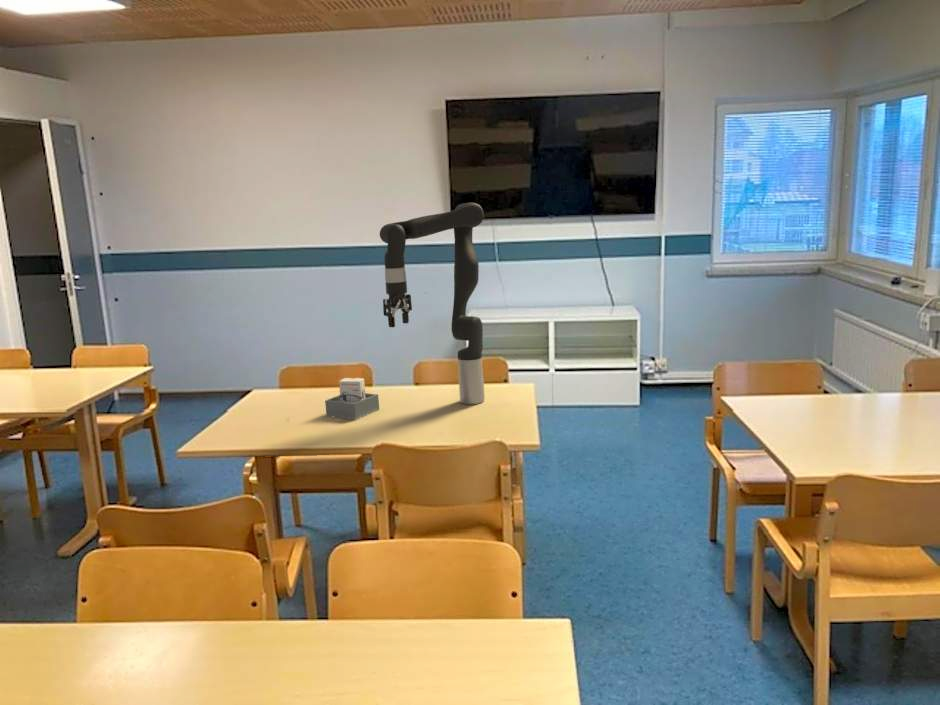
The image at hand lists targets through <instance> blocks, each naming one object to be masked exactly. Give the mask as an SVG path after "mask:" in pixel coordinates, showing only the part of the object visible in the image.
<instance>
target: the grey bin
mask: <svg viewBox="0 0 940 705" xmlns="http://www.w3.org/2000/svg"><path fill="white" fill-rule="evenodd" d="M365 397H366V399H363V400H361V401H359V402H356V403H348V402H341V400H340V394H339V395H337V396H333V397H332V398H328V399H325V400H324V401H325V402H324V403H325V415H326V417H329V416H334V417H333V418H337V417H341V418H340V419H344V418H349V419H348V420H352V419H357V420H360V419H361V418H360V417H362V418H364V417H366V416H368V415H367V414H369V415H371V414H373V413H375V412H377V410H378V411H379V410H380V400H379V394H378V393H369V392H368V393H367V392H365ZM374 411H375V412H374ZM372 412H373V413H372ZM370 413H371V414H370ZM365 415H366V416H365ZM363 416H364V417H363ZM359 418H360V419H359Z"/></svg>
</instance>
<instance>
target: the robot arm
mask: <svg viewBox="0 0 940 705" xmlns="http://www.w3.org/2000/svg"><path fill="white" fill-rule="evenodd" d="M484 212H485V211H484V209H483V208H482V206H481V205H480V204H478V203H476V202H465V203H459V204H457V206H456V207H455V208H454V210H450V211H447V212H441V213H436V214H429V215H424V216H420V217H414V218H412V219H408V220H404V221H396V222H392V223H388V224H384V225H383V226H382V227H381V229H380V230H379V238H380V239H381V241H382V242H383V243H385V244H387V251H386V252H385V254H384V260H383V261H384V282H385V283H384V284H385V293H386V295H387V296H388V298H383V300H382V307H383V308H382V309H383V316H385V317H387V320H388V321H387V322H388V327H389V328H395V327H396V321H395V319H396V318H395V314H396V312H397V311H398V310H399V309H400V311H401V317H402V318H401V319H402V324H409V317H410V316H409V313H410V311H412V309H413V308H412V307H413V306H412V304H413V303H412V296H411V294H407V293H408V285H407V272H406V267H405V266H406V265H405V256H404V255H405V250H406V240H415V239H420V238H422V237H428V236H431V235H435V234H437V233H442V232H445V231H448V230H453V234H454V261H453V262H454V266H453V286H454V287H453V288H454V289H453V290H454V291H453V305H452V306H453V308H452V315H451V316H452V317H451V334H452V337H453V339H455V340H458V341H468V343H467V345H468V346H467V347H465V348H462V349H459V350H458V351H457V367H458V368H457V370H458V371H457V372H458V387H459V402H460V403H461V404H464V405H477V404H481V403H483V402H484V401H485V385H484V383H485V382H484V378H485V377H484V373H483V346H484V345H483V342H484V340H483V339H484V338H483V337H484V335H483V334H484V333H483V332H484V329H483V322H482V320H481V318H480V317H479V316H473V315H472V316H471V315H469V316H468V315H466V312H467V305H468V302H469V300H470V298H471V296H472V294H473V293H474V291H475V289H476V288H477V286H478V284H479V274H480V273H479V270H480V269H479V260H478V256H477V254H476V251H475V247H474V243H473V231H474V230H473V228H476V227H478V226H479V225H480V224H482V222H483V221H484V217H485V213H484Z"/></svg>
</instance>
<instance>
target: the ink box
mask: <svg viewBox="0 0 940 705" xmlns="http://www.w3.org/2000/svg"><path fill="white" fill-rule="evenodd" d="M338 382H339V384H338V385H339V395H340V400H341V402H348V403H356V402H359V401H361V400H363V399H366V397H365V393H366V386H365V378H363V377H352V378H351V377H344V378H341V380H338Z"/></svg>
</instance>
